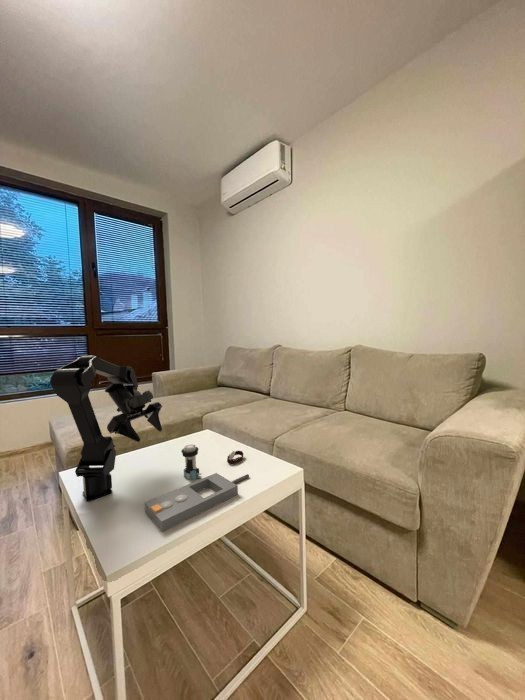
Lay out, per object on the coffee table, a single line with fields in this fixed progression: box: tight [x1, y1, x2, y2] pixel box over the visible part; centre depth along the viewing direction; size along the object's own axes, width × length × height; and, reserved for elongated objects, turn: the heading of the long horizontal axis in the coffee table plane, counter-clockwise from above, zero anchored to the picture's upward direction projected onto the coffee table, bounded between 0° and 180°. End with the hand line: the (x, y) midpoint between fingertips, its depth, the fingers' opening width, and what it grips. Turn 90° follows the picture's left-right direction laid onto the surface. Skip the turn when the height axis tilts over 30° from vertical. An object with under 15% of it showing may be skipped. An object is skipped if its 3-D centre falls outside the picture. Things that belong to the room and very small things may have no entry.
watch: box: [226, 450, 244, 465], centre depth 103 cm, size 8×5×4 cm, turn 149°
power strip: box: [144, 472, 250, 533], centre depth 80 cm, size 30×11×3 cm, turn 132°
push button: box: [181, 444, 203, 480], centre depth 91 cm, size 7×5×10 cm
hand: (150, 435), depth 93 cm, fingers open, 9 cm apart
